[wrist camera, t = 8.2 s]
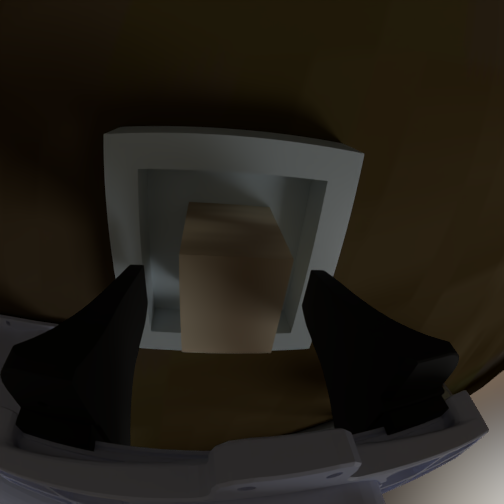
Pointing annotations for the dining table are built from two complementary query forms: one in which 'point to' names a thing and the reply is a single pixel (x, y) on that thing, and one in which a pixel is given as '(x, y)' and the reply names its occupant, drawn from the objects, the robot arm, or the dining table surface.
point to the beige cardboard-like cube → (231, 278)
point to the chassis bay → (224, 192)
